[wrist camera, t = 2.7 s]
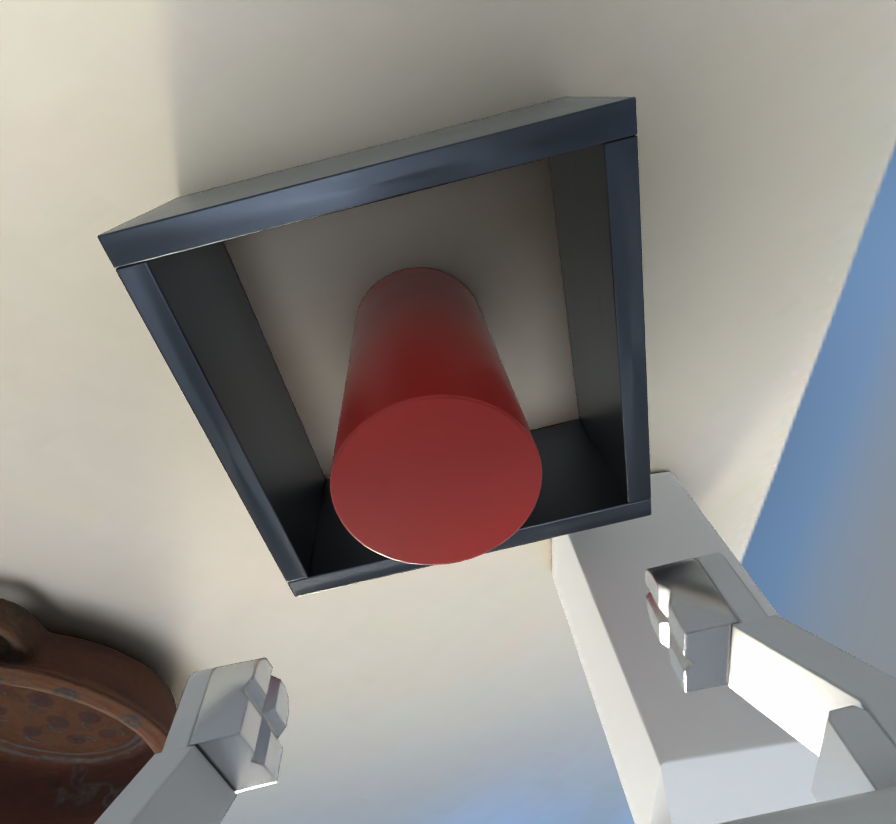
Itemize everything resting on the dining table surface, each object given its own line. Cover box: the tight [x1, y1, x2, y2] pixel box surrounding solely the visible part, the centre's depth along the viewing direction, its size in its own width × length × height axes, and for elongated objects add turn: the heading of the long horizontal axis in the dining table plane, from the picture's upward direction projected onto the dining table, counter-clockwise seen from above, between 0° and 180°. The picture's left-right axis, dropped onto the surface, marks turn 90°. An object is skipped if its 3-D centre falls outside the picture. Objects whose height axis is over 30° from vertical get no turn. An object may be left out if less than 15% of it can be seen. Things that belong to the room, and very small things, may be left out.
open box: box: [98, 97, 651, 597], centre depth 23 cm, size 16×16×7 cm
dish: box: [0, 599, 177, 824], centre depth 34 cm, size 18×22×5 cm
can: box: [330, 268, 542, 565], centre depth 20 cm, size 6×6×12 cm
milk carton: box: [552, 472, 819, 824], centre depth 25 cm, size 7×7×19 cm
